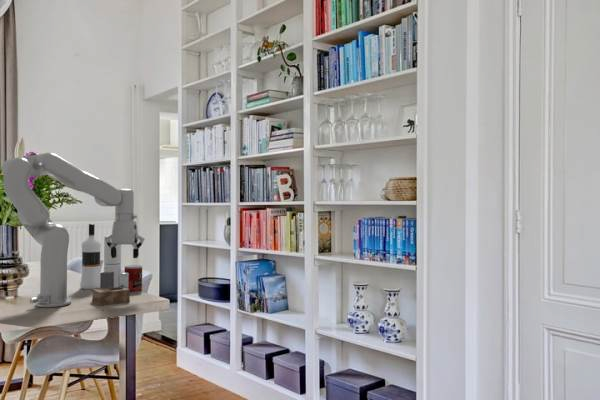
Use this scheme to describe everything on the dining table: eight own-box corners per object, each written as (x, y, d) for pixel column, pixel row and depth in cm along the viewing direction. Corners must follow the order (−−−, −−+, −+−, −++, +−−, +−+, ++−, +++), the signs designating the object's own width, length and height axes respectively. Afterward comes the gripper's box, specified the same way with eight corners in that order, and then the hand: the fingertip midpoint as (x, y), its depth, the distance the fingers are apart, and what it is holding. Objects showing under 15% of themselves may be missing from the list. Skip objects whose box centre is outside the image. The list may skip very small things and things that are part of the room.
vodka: (79, 290, 241) (80, 224, 241) (80, 286, 249) (81, 223, 249) (101, 289, 244) (102, 224, 244) (101, 286, 253) (102, 223, 253)
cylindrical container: (115, 293, 234) (115, 236, 234) (100, 292, 236) (101, 236, 236) (123, 290, 241) (124, 235, 241) (109, 289, 243) (110, 235, 243)
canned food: (135, 292, 238) (135, 267, 238) (120, 290, 241) (120, 266, 241) (145, 289, 245) (145, 265, 245) (131, 288, 248) (131, 264, 248)
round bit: (123, 297, 224) (124, 274, 224) (116, 297, 225) (116, 273, 225) (130, 296, 227) (130, 273, 227) (122, 295, 229) (123, 272, 229)
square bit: (109, 296, 226) (109, 273, 226) (100, 296, 226) (100, 272, 226) (113, 294, 230) (113, 272, 230) (104, 294, 230) (104, 271, 230)
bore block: (99, 305, 208) (99, 292, 208) (92, 301, 215) (92, 289, 215) (129, 301, 215) (129, 289, 215) (121, 298, 222) (121, 286, 222)
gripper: (147, 217, 229) (147, 257, 229) (109, 217, 231) (109, 256, 231) (140, 218, 222) (140, 259, 222) (101, 218, 224) (101, 258, 224)
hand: (124, 257), depth 226 cm, fingers open, 9 cm apart
